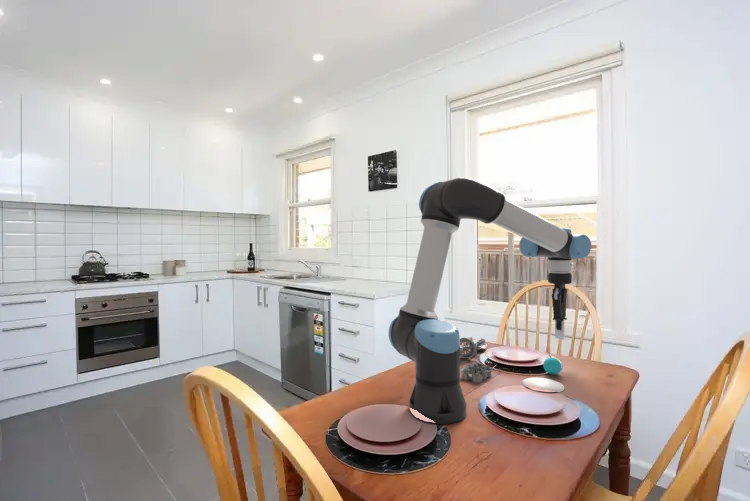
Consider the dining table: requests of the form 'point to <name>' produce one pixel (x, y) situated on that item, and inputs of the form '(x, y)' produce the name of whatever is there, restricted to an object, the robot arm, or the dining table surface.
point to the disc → (544, 384)
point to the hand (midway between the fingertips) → (559, 338)
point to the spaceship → (470, 346)
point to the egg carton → (480, 370)
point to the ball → (552, 366)
